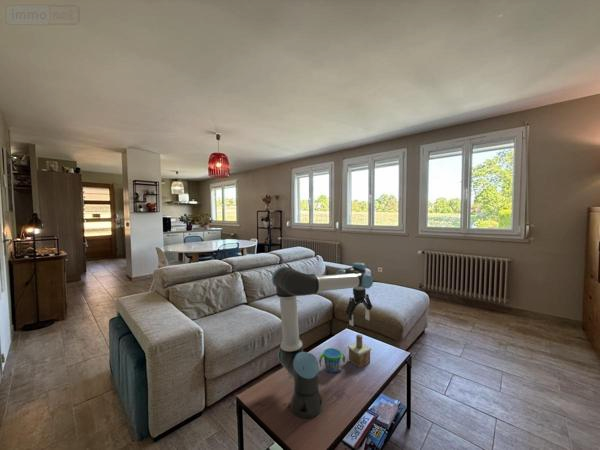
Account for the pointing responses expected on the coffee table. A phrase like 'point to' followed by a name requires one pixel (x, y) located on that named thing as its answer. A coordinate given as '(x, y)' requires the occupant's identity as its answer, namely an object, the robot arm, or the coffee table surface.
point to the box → (359, 358)
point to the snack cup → (332, 359)
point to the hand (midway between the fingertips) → (359, 322)
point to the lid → (359, 346)
